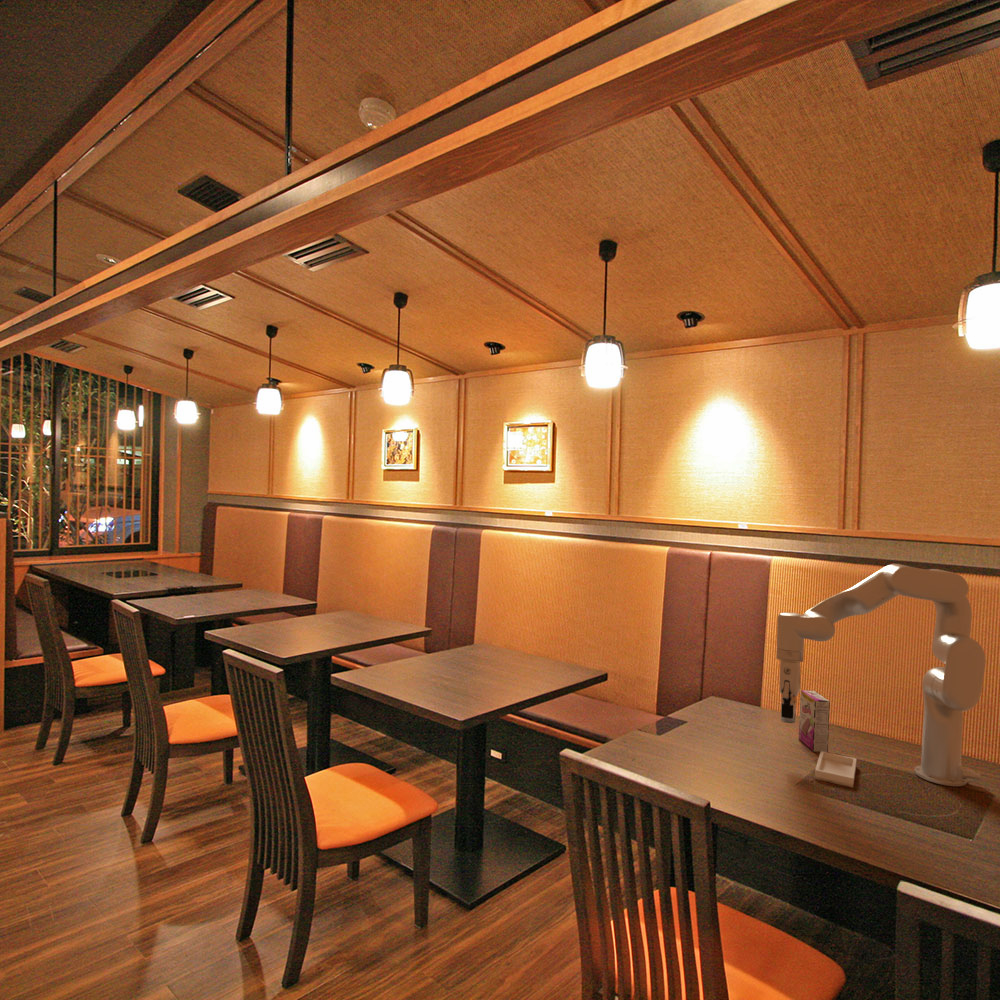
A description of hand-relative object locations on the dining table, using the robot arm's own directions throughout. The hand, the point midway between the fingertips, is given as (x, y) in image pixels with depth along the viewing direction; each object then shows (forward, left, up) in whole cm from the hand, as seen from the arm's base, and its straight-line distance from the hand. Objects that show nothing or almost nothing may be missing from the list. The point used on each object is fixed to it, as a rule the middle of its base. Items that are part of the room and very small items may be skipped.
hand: (788, 715), depth 203 cm
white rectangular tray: (-14, +1, -14) cm, 19 cm away
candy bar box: (-6, -19, -14) cm, 24 cm away
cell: (0, 0, -2) cm, 2 cm away
